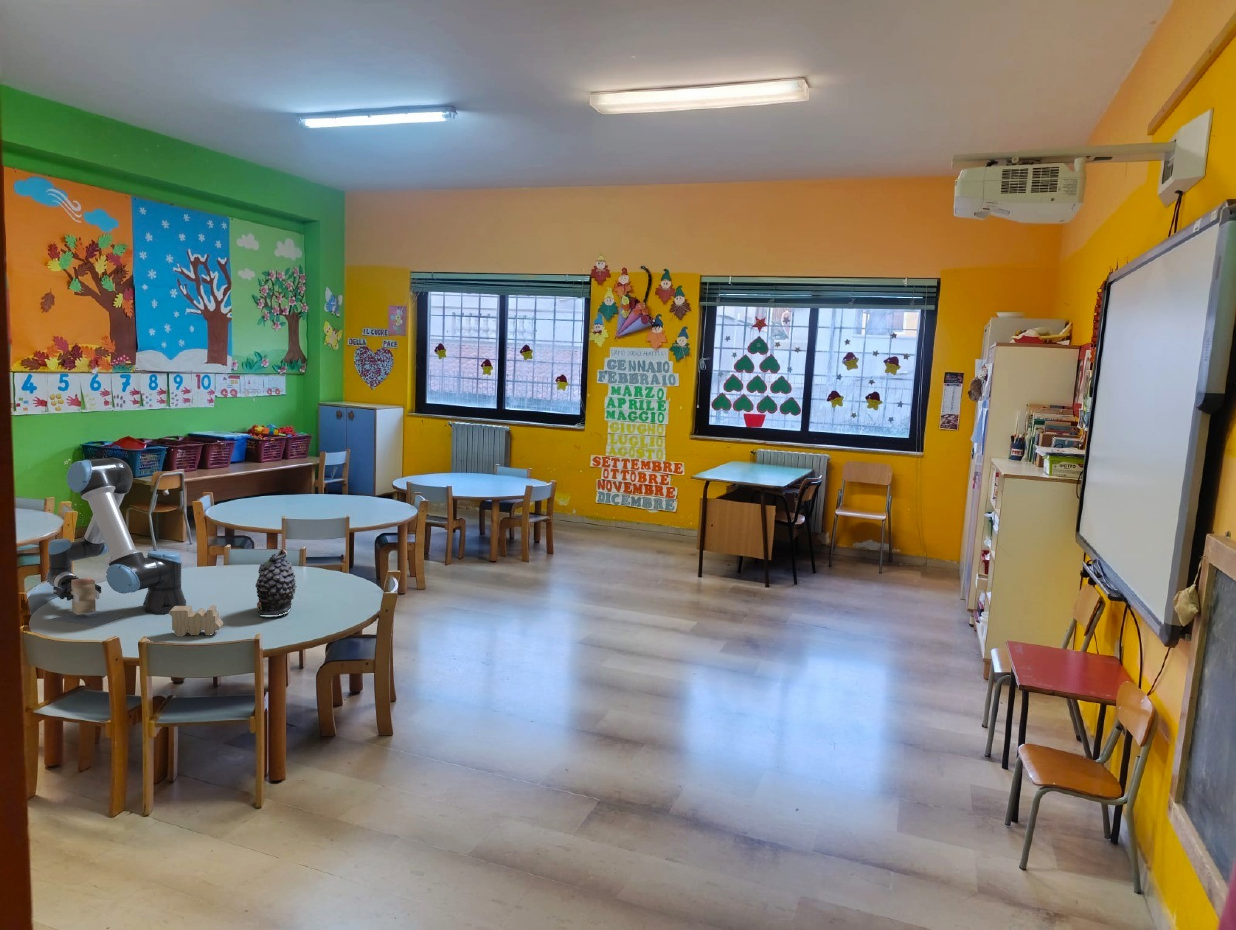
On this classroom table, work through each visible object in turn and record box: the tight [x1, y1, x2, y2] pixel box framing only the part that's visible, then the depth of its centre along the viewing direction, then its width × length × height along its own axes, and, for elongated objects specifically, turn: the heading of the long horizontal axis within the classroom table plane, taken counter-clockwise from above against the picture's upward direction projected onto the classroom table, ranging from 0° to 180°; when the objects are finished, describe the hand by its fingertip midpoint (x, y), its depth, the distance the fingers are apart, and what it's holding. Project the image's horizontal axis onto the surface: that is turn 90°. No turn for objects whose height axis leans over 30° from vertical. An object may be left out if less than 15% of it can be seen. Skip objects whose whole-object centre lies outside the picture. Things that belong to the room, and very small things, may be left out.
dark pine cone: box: [255, 548, 297, 615], centre depth 325 cm, size 21×15×25 cm
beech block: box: [71, 577, 97, 615], centre depth 305 cm, size 6×6×12 cm
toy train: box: [168, 604, 224, 637], centre depth 297 cm, size 6×17×10 cm, turn 103°
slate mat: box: [50, 610, 127, 627], centre depth 306 cm, size 20×14×1 cm
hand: (88, 597), depth 302 cm, fingers closed on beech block, 6 cm apart
